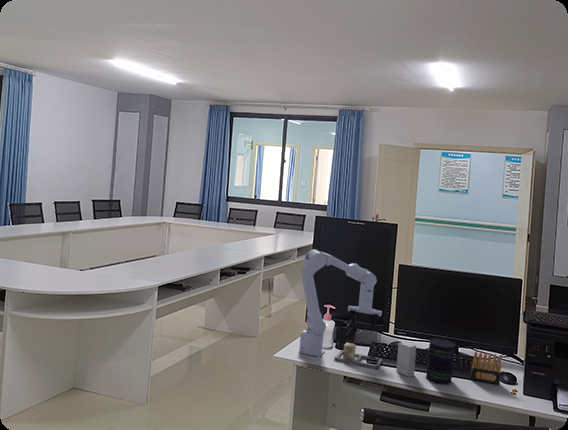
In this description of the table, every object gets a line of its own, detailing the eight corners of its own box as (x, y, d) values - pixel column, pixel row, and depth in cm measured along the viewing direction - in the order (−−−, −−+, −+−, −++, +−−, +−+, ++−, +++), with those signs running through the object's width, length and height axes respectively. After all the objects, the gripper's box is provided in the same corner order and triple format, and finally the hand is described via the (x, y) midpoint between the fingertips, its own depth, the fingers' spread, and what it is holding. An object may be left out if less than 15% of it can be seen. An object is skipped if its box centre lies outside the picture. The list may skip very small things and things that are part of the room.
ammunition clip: (470, 380, 206) (473, 350, 205) (470, 378, 208) (473, 349, 207) (499, 385, 203) (503, 355, 202) (499, 383, 205) (502, 354, 203)
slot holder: (334, 360, 216) (334, 357, 216) (340, 353, 225) (341, 350, 225) (377, 369, 209) (377, 366, 209) (382, 361, 219) (382, 358, 219)
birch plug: (342, 359, 217) (344, 345, 217) (345, 356, 221) (346, 342, 221) (352, 361, 216) (353, 347, 215) (354, 358, 220) (355, 344, 219)
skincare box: (414, 375, 207) (417, 345, 205) (407, 377, 204) (410, 347, 203) (402, 369, 211) (405, 340, 210) (395, 371, 208) (398, 342, 207)
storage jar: (451, 386, 198) (455, 348, 196) (424, 381, 201) (428, 344, 199) (451, 377, 207) (455, 341, 206) (426, 372, 210) (430, 336, 209)
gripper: (384, 299, 227) (381, 330, 228) (351, 294, 232) (349, 324, 233) (381, 303, 220) (378, 334, 222) (347, 297, 226) (345, 328, 227)
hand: (363, 329), depth 227 cm, fingers open, 7 cm apart
